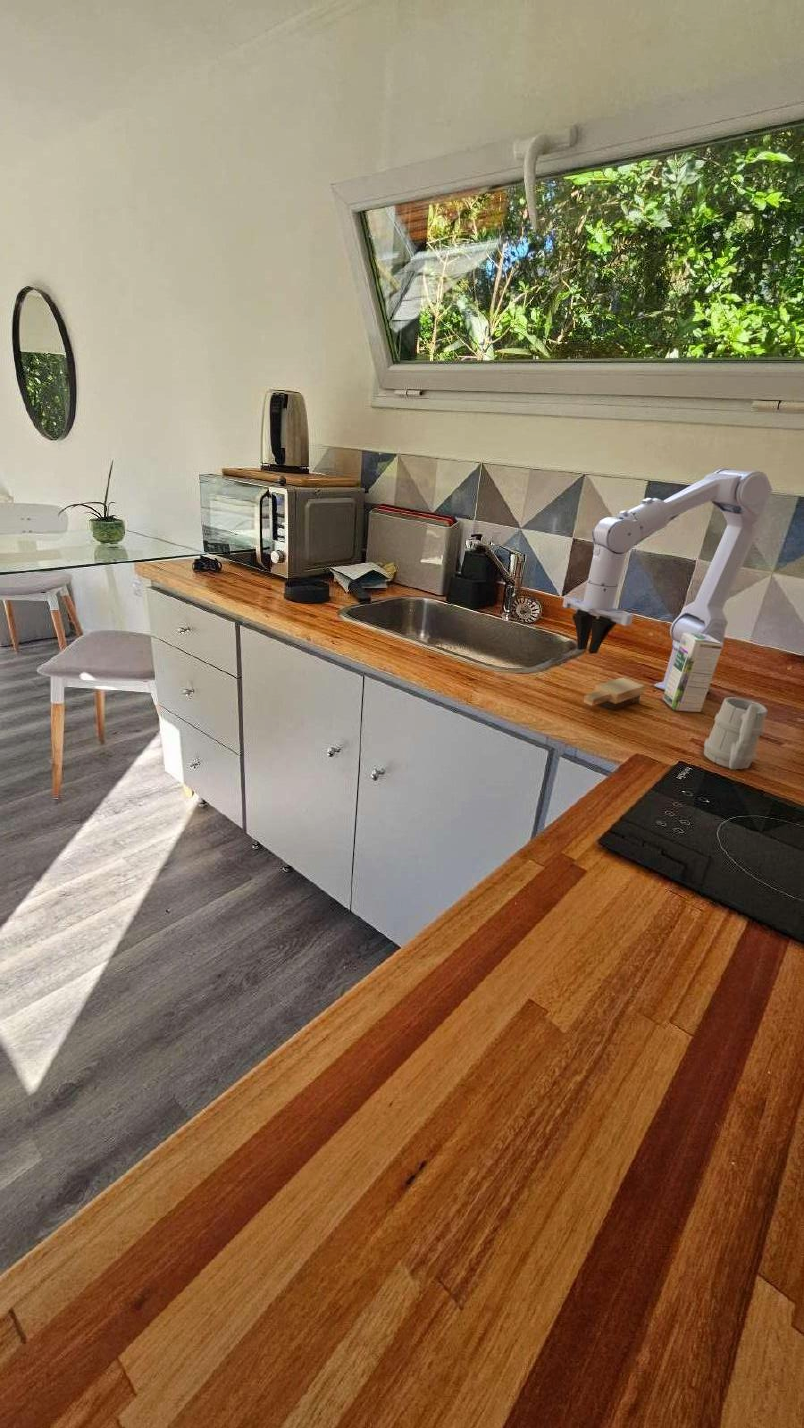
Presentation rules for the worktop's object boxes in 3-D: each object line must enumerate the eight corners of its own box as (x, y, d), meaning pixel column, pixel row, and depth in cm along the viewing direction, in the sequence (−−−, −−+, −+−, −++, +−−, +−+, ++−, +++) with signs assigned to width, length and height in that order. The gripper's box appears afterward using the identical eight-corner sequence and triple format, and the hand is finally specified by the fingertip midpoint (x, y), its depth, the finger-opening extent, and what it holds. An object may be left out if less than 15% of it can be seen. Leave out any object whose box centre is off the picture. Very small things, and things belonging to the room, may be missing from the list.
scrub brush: (618, 693, 123) (623, 677, 122) (640, 701, 120) (645, 685, 118) (574, 707, 114) (578, 690, 112) (596, 717, 110) (601, 699, 109)
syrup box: (661, 699, 122) (681, 631, 116) (689, 701, 122) (710, 633, 116) (672, 710, 117) (694, 639, 111) (702, 713, 117) (725, 642, 111)
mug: (748, 754, 101) (773, 689, 96) (758, 786, 91) (786, 715, 86) (700, 743, 104) (721, 679, 99) (704, 773, 93) (728, 703, 89)
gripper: (559, 576, 116) (546, 642, 122) (624, 593, 107) (607, 665, 112) (580, 574, 121) (566, 638, 126) (645, 591, 111) (627, 659, 116)
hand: (587, 650), depth 119 cm, fingers closed
